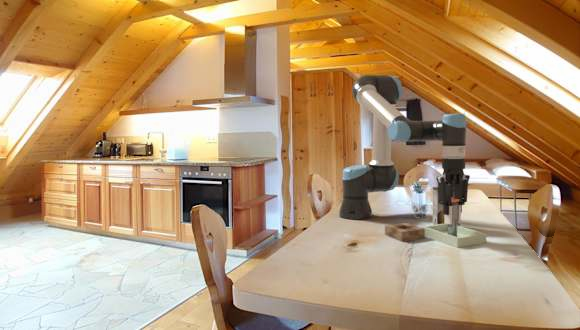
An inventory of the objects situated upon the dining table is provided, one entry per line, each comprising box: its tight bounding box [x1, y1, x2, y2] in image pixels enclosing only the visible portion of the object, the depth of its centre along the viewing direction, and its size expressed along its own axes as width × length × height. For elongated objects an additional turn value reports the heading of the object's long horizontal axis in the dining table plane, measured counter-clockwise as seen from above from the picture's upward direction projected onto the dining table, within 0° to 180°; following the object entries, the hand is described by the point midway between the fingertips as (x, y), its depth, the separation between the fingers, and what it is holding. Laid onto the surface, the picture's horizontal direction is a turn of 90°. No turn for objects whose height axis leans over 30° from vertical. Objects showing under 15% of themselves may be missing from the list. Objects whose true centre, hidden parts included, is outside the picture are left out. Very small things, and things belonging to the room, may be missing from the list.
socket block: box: [384, 222, 426, 243], centre depth 134 cm, size 10×10×4 cm
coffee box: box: [432, 186, 461, 226], centre depth 145 cm, size 9×6×16 cm
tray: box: [420, 223, 487, 248], centre depth 130 cm, size 17×13×3 cm
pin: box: [447, 197, 460, 237], centre depth 130 cm, size 4×4×14 cm
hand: (452, 222), depth 130 cm, fingers open, 3 cm apart
